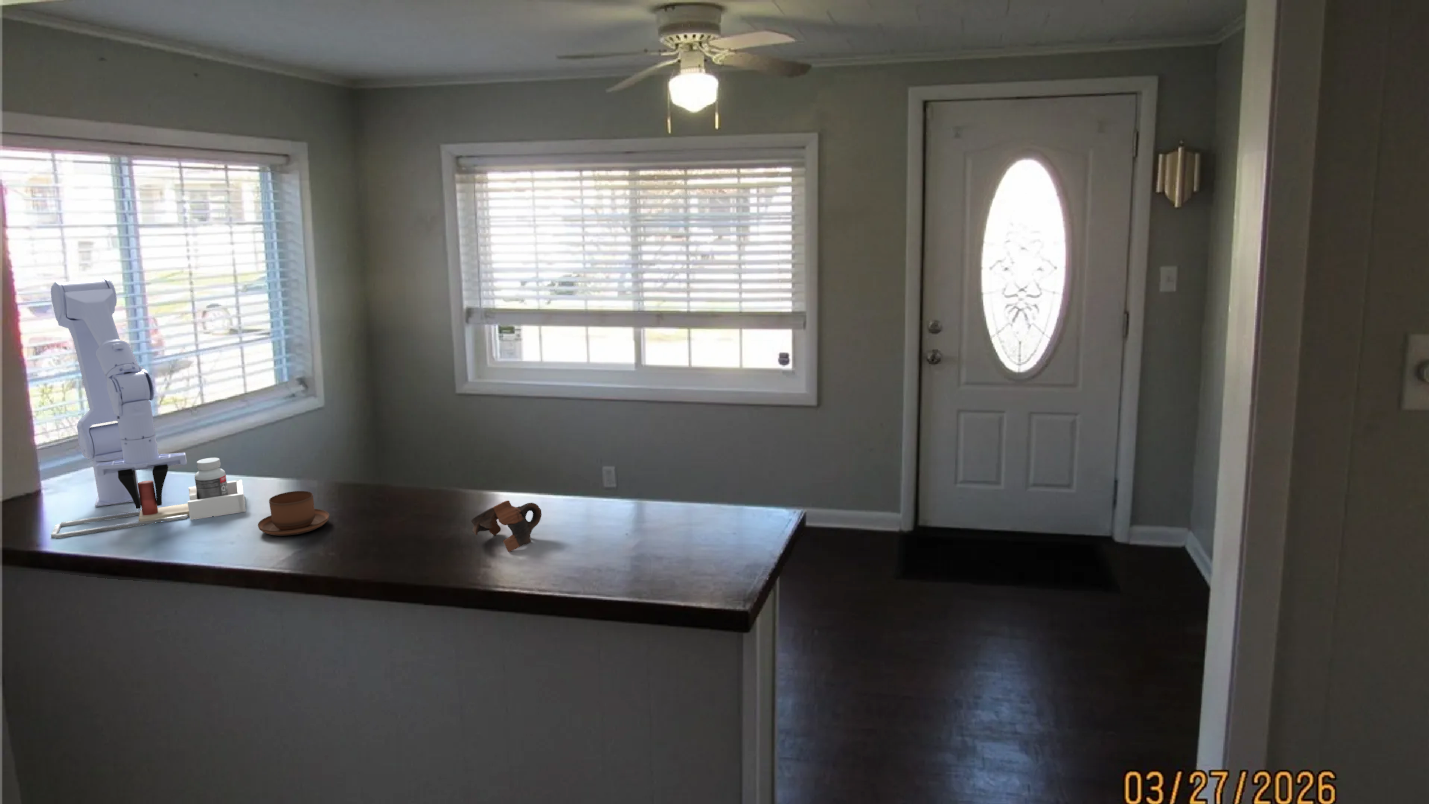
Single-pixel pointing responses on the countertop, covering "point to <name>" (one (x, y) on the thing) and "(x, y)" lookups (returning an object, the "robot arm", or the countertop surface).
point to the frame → (219, 503)
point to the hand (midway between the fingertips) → (149, 505)
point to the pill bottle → (210, 479)
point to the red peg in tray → (150, 503)
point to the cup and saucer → (292, 514)
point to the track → (106, 528)
